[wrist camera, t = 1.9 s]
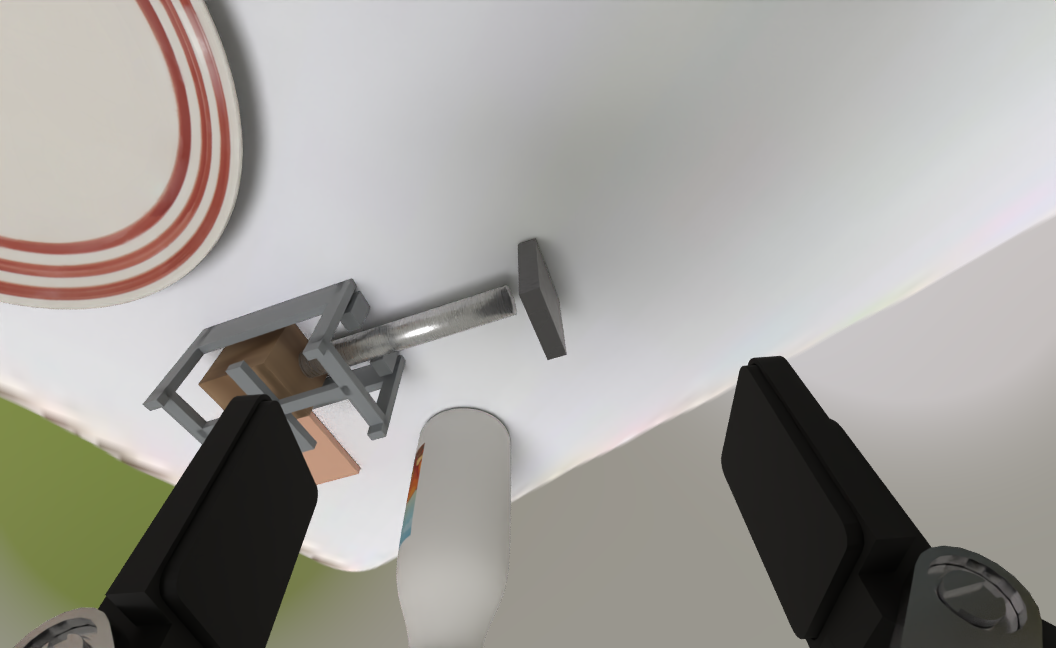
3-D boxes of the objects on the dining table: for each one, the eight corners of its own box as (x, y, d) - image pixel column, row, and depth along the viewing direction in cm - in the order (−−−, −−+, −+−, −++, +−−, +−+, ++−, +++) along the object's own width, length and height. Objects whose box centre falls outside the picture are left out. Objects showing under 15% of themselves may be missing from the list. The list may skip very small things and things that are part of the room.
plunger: (535, 238, 33) (539, 288, 28) (559, 299, 36) (566, 354, 31) (297, 318, 36) (264, 375, 31) (336, 368, 39) (311, 428, 34)
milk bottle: (443, 392, 41) (399, 679, 25) (527, 425, 43) (537, 706, 27) (405, 449, 45) (345, 731, 29) (484, 476, 47) (470, 750, 31)
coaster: (301, 399, 41) (299, 405, 41) (360, 468, 46) (358, 473, 46) (207, 428, 43) (203, 433, 42) (274, 491, 48) (271, 496, 47)
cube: (291, 317, 37) (264, 363, 33) (330, 367, 39) (309, 415, 35) (231, 337, 37) (198, 384, 33) (274, 385, 40) (247, 433, 36)
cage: (351, 278, 35) (317, 348, 29) (405, 361, 39) (385, 436, 33) (203, 329, 37) (142, 404, 31) (269, 402, 41) (227, 480, 35)
